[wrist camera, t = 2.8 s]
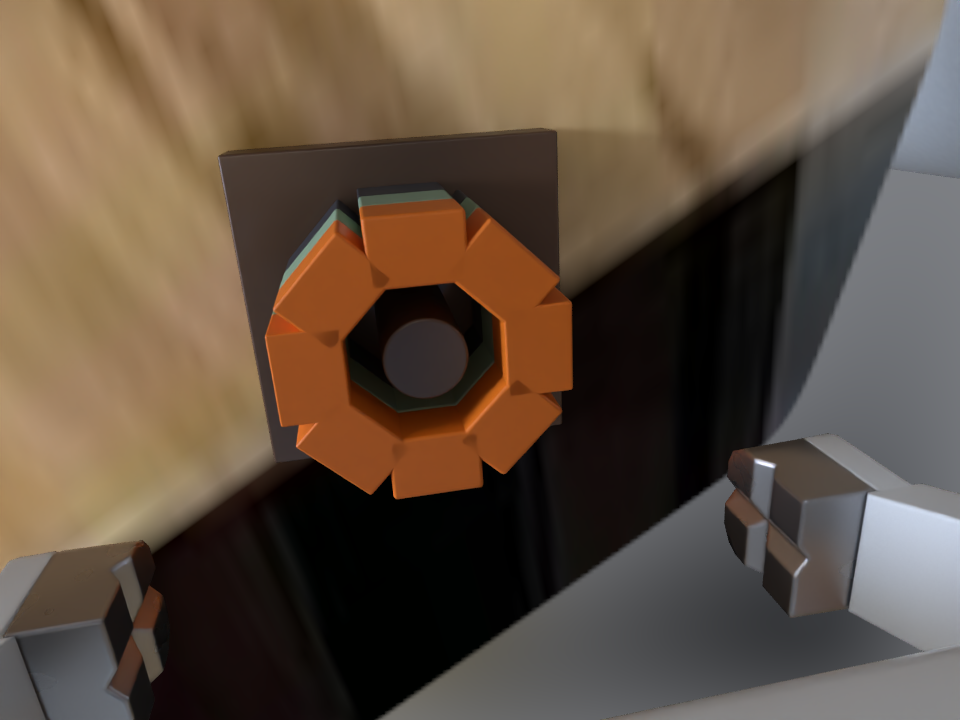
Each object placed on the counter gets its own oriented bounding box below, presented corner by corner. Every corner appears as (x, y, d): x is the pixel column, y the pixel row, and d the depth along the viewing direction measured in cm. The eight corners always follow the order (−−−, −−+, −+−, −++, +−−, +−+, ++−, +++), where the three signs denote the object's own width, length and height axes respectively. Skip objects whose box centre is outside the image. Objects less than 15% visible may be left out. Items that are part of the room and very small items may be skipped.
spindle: (543, 127, 21) (616, 140, 15) (550, 405, 24) (611, 499, 18) (225, 151, 19) (178, 174, 14) (278, 441, 23) (258, 554, 17)
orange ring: (550, 189, 17) (571, 198, 15) (556, 445, 19) (574, 474, 18) (254, 214, 16) (244, 227, 14) (300, 481, 18) (296, 515, 17)
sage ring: (534, 181, 18) (550, 189, 17) (541, 419, 21) (556, 445, 19) (261, 204, 17) (254, 214, 16) (303, 451, 20) (300, 481, 18)
